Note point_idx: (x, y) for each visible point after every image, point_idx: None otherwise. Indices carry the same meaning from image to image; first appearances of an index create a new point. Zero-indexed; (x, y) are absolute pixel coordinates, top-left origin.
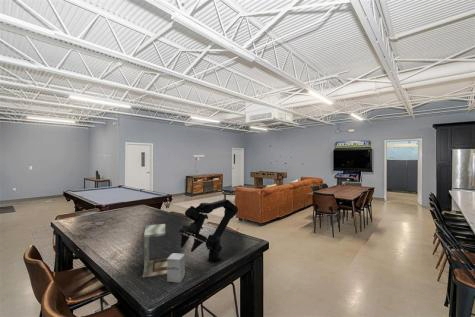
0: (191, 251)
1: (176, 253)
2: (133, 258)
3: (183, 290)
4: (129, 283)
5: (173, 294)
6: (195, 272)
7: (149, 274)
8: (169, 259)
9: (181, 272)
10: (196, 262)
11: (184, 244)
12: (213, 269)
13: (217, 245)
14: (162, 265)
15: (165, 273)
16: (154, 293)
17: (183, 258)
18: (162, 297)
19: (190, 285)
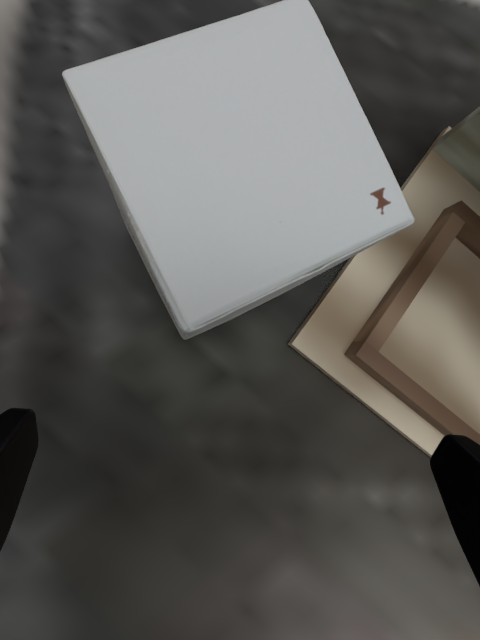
0: (7, 422)
1: (339, 237)
2: None
3: (7, 166)
4: (442, 37)
5: (40, 84)
6: (142, 447)
7: (430, 170)
8: (260, 13)
9: (134, 241)
10: (284, 596)
11: (476, 570)
12: (15, 622)
13: None
14: (473, 330)
15: (349, 261)
16: (185, 28)
17: (146, 261)
18: (87, 17)
19: (10, 255)
